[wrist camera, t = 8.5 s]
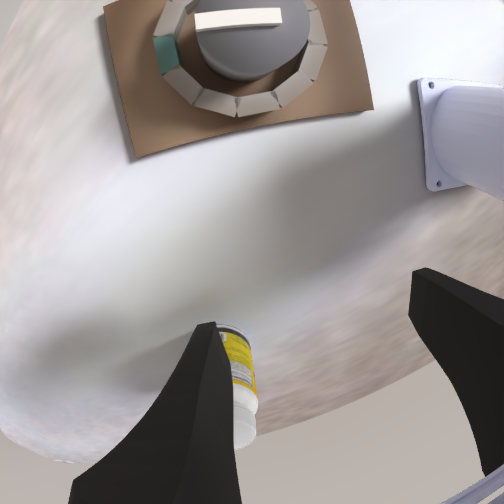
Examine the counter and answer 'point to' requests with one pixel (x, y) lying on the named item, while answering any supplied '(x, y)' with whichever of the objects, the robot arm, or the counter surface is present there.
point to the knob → (250, 35)
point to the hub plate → (218, 89)
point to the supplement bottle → (241, 384)
